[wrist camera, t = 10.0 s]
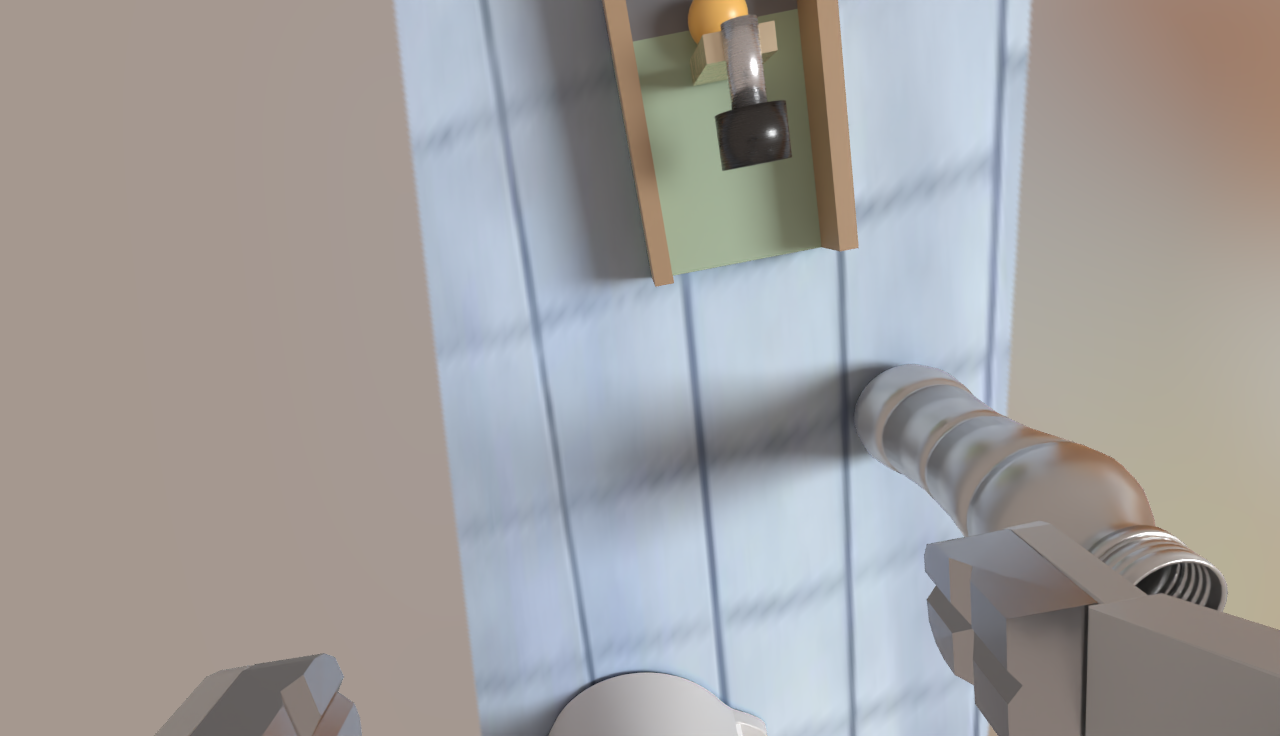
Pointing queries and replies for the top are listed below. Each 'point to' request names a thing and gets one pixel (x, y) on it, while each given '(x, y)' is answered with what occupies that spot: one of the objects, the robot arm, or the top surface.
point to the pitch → (688, 145)
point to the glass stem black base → (744, 92)
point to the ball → (712, 15)
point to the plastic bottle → (1023, 480)
